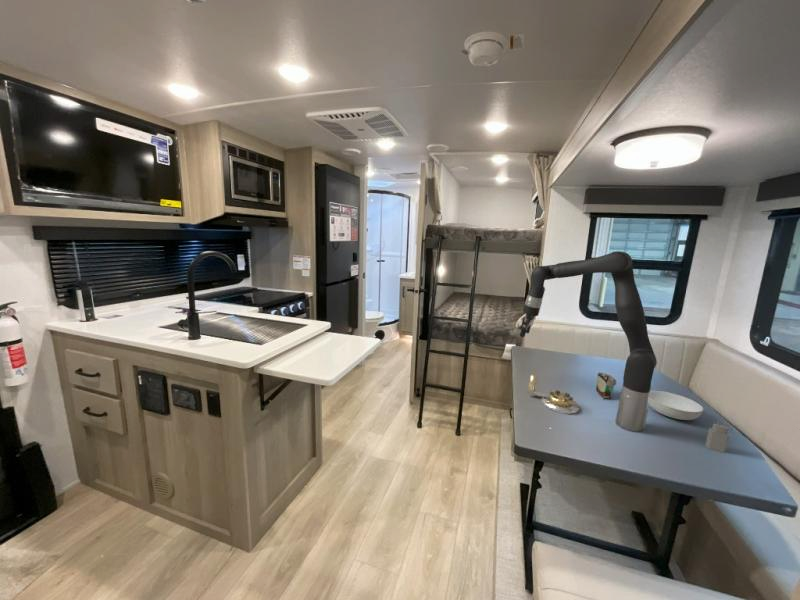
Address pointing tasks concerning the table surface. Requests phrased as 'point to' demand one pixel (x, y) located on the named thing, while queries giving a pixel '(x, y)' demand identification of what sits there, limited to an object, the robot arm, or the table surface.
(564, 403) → the crank handle
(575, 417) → the table surface
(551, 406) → the plate
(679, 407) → the serving bowl
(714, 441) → the power adapter
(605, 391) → the food container
